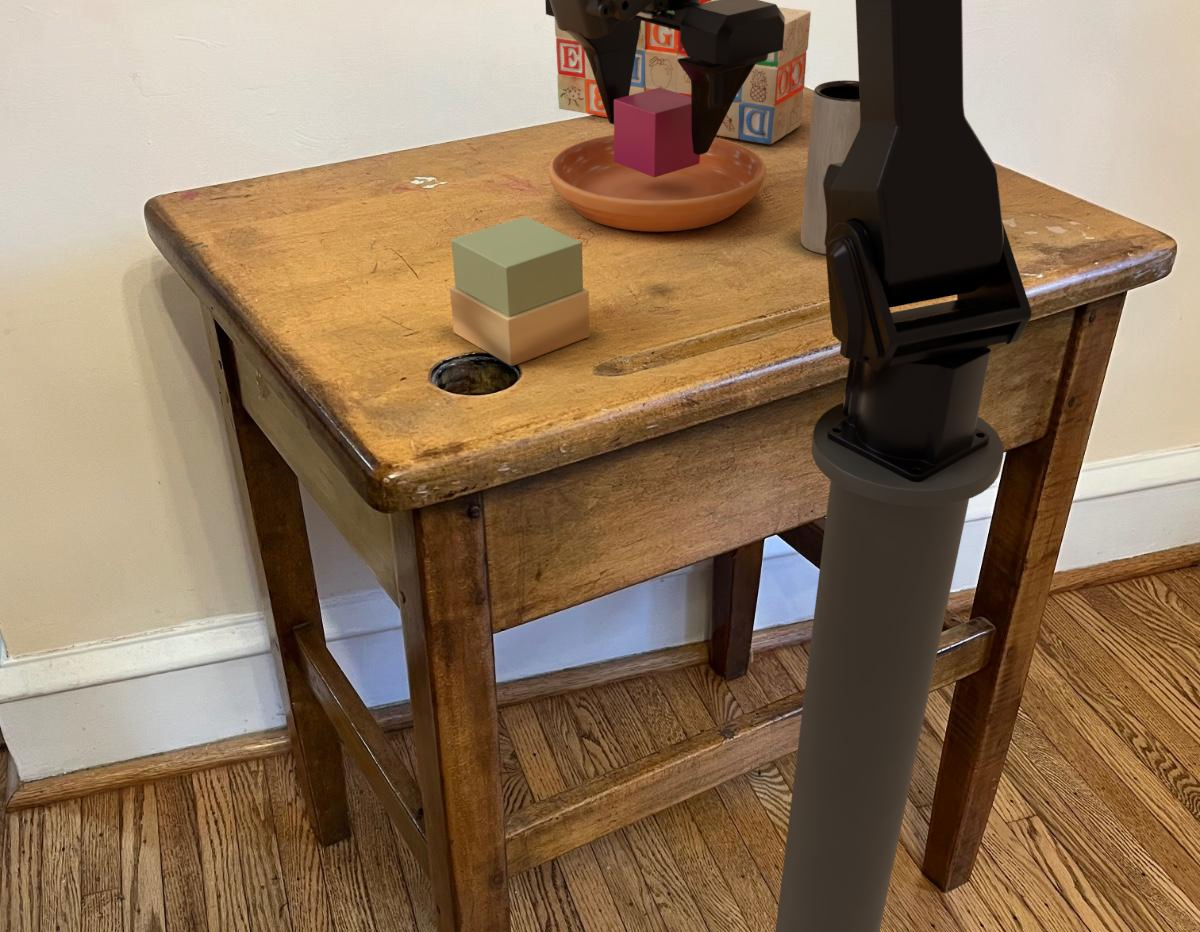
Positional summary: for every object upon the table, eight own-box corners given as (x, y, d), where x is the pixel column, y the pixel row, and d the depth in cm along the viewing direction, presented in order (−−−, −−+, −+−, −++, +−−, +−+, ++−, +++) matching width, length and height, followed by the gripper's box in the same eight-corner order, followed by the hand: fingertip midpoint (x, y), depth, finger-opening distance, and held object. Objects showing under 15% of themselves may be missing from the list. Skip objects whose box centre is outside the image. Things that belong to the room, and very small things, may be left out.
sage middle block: (583, 290, 74) (582, 242, 72) (509, 317, 71) (506, 267, 69) (527, 262, 77) (525, 215, 75) (454, 287, 74) (450, 238, 72)
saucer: (604, 155, 101) (604, 118, 99) (791, 183, 96) (794, 143, 94) (512, 223, 90) (510, 182, 88) (717, 258, 84) (719, 215, 83)
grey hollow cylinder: (875, 238, 87) (895, 86, 80) (849, 261, 84) (868, 104, 77) (816, 226, 89) (831, 76, 82) (789, 247, 86) (802, 93, 79)
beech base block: (590, 336, 75) (589, 290, 73) (511, 367, 72) (508, 320, 70) (530, 305, 79) (528, 260, 77) (453, 332, 76) (449, 286, 74)
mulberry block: (700, 163, 91) (702, 100, 88) (654, 178, 88) (655, 113, 86) (658, 148, 93) (660, 86, 91) (613, 162, 91) (613, 99, 88)
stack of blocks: (803, 126, 106) (816, -31, 99) (771, 147, 102) (783, -15, 95) (592, 91, 115) (590, -56, 108) (555, 109, 111) (550, -43, 104)
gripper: (476, -109, 82) (492, 131, 92) (666, -70, 71) (660, 199, 80) (605, -128, 87) (606, 100, 97) (799, -94, 76) (779, 160, 86)
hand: (657, 137), depth 90 cm, fingers open, 9 cm apart
